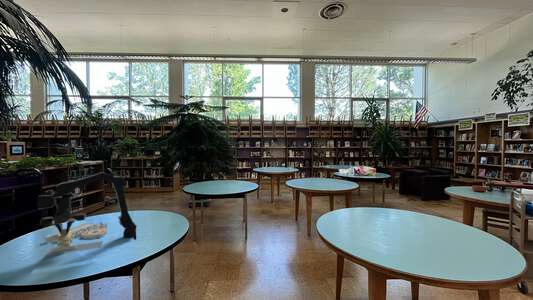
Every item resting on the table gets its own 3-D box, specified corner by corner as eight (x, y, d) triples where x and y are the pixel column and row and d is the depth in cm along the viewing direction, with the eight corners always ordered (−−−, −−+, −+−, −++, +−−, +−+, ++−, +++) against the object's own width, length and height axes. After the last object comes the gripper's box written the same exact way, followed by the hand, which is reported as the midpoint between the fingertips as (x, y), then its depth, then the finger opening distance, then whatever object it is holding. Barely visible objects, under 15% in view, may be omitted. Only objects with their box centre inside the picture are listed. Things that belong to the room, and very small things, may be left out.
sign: (89, 221, 175) (125, 224, 168) (89, 227, 175) (125, 229, 169) (43, 237, 145) (84, 241, 139) (43, 243, 145) (85, 248, 139)
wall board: (103, 243, 144) (103, 237, 144) (100, 249, 135) (100, 243, 135) (51, 251, 134) (51, 245, 133) (44, 259, 125) (44, 252, 125)
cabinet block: (72, 241, 136) (71, 227, 136) (69, 245, 131) (68, 230, 130) (60, 243, 134) (60, 228, 133) (57, 247, 128) (56, 232, 128)
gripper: (35, 211, 120) (36, 243, 121) (81, 207, 129) (82, 236, 129) (43, 206, 130) (44, 235, 131) (86, 202, 139) (86, 229, 139)
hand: (64, 234), depth 132 cm, fingers closed on cabinet block
